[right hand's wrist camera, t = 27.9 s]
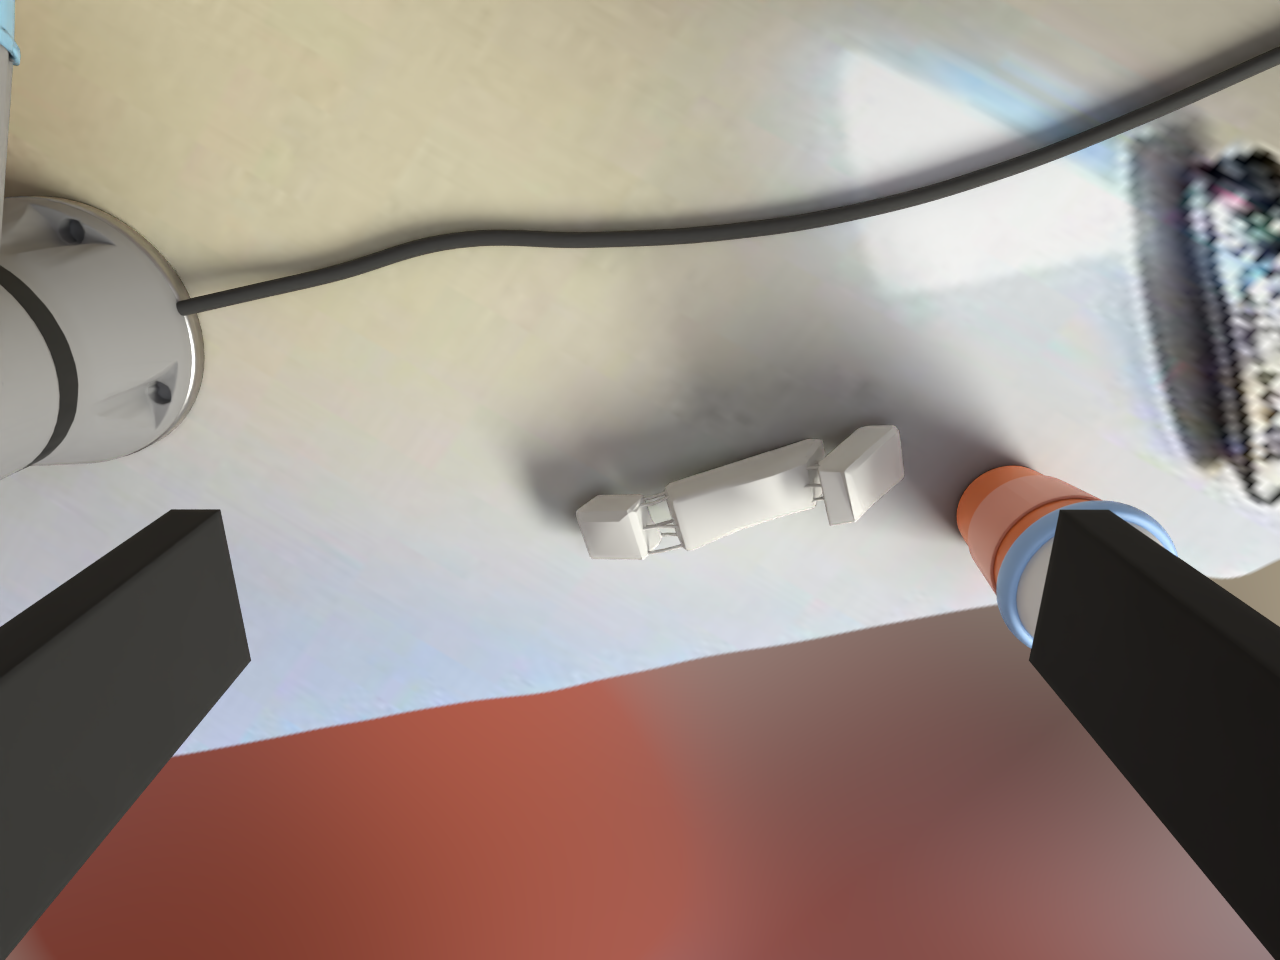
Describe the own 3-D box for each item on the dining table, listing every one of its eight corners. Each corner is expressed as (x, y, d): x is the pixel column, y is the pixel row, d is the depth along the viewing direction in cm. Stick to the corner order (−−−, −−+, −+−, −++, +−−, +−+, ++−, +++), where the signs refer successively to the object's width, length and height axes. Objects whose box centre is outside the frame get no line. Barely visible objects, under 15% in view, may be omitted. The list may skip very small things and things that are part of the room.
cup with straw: (908, 489, 50) (1044, 643, 33) (1041, 415, 48) (1257, 537, 31) (968, 595, 53) (1122, 787, 36) (1096, 528, 51) (1322, 697, 34)
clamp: (891, 414, 48) (917, 451, 41) (901, 470, 49) (928, 514, 43) (582, 487, 52) (563, 531, 45) (599, 537, 53) (582, 587, 46)
